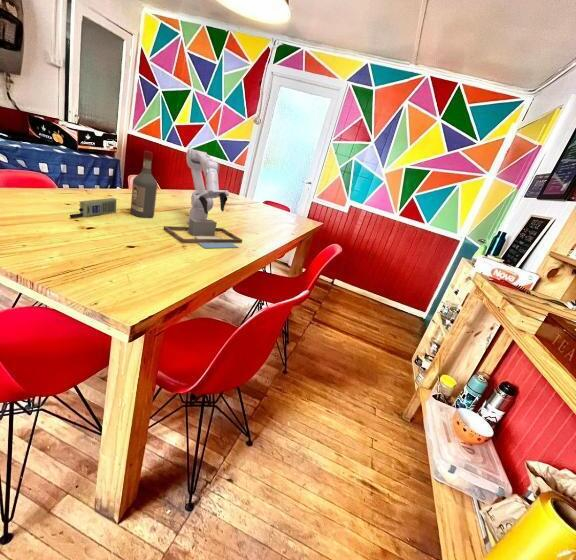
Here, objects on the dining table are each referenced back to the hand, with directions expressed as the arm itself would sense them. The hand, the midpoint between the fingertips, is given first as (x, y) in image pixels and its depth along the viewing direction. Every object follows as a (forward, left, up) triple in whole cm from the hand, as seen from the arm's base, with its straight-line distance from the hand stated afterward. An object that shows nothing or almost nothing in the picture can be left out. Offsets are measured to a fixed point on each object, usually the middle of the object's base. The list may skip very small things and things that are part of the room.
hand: (214, 211), depth 147 cm
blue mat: (+10, -1, -13) cm, 16 cm away
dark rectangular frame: (-2, -1, -13) cm, 13 cm away
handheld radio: (-28, -40, -13) cm, 51 cm away
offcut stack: (+2, -1, -13) cm, 14 cm away
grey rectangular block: (-5, -1, -13) cm, 14 cm away
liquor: (-32, -18, -13) cm, 39 cm away
